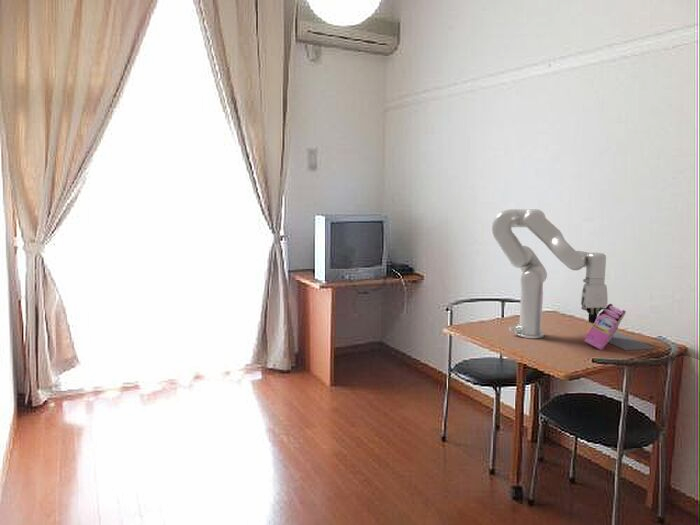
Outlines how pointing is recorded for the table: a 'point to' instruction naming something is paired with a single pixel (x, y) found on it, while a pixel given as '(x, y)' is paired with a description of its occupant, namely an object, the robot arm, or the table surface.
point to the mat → (627, 342)
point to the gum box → (605, 326)
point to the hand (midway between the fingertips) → (592, 322)
